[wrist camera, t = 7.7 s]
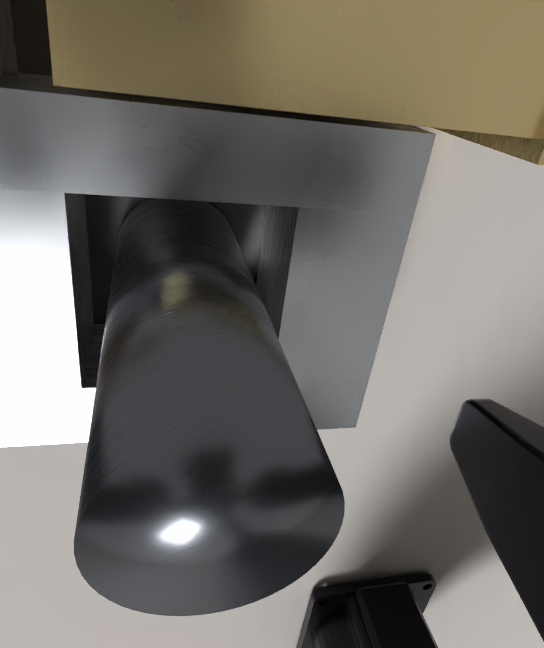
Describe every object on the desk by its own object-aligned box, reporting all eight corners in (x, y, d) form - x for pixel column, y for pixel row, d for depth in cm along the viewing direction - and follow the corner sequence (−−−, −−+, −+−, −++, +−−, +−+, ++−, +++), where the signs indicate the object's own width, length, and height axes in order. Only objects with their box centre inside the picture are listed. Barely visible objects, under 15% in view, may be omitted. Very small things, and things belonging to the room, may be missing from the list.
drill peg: (230, 302, 15) (321, 596, 7) (118, 302, 14) (83, 632, 6) (240, 196, 13) (369, 428, 5) (114, 188, 12) (61, 447, 5)
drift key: (449, 126, 13) (582, 168, 9) (89, 85, 11) (54, 118, 7) (490, -18, 11) (674, -45, 7) (79, -100, 9) (25, -200, 5)
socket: (324, 366, 17) (355, 427, 14) (-2, 374, 14) (-35, 448, 12) (421, -84, 11) (504, -119, 8) (-112, -206, 8) (-227, -310, 6)
